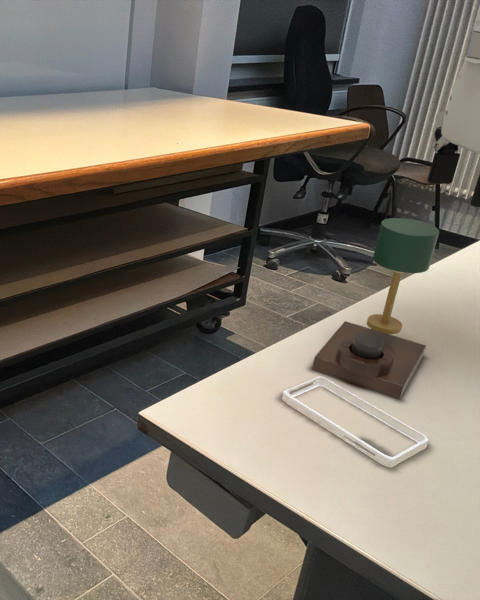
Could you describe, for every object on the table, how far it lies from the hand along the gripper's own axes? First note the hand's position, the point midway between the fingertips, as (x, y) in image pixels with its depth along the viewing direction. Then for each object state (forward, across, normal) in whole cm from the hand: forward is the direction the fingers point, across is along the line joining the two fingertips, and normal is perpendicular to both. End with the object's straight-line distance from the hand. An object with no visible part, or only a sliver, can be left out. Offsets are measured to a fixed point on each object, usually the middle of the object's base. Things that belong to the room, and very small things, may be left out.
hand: (460, 194), depth 85 cm
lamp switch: (+19, -7, +11) cm, 23 cm away
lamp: (+19, -1, +6) cm, 20 cm away
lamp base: (+23, -4, +9) cm, 25 cm away
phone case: (+23, -17, +17) cm, 33 cm away
